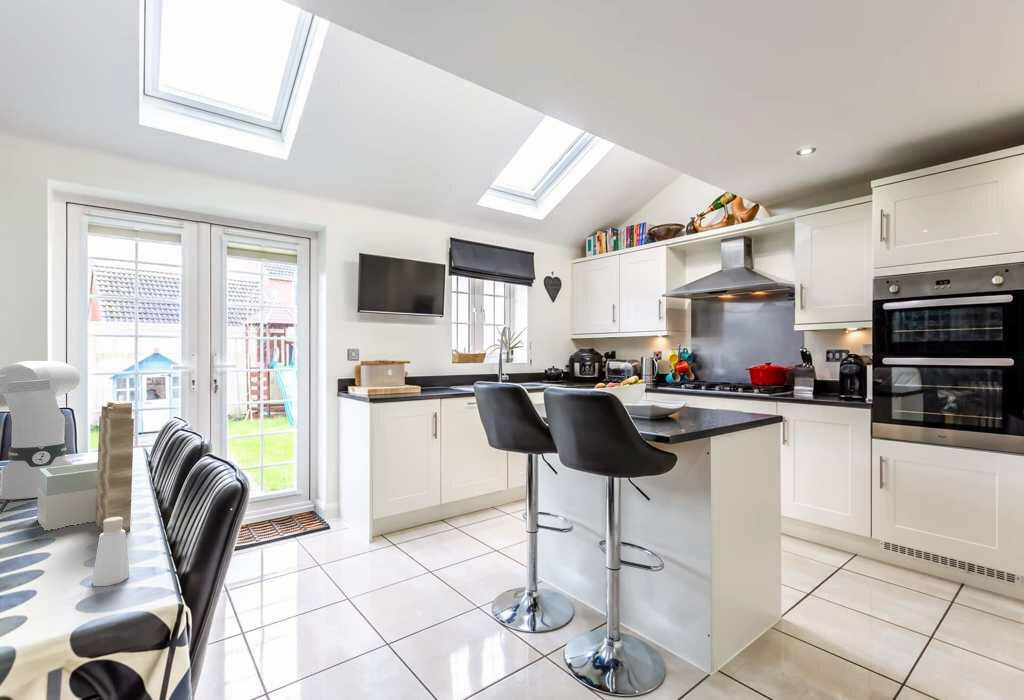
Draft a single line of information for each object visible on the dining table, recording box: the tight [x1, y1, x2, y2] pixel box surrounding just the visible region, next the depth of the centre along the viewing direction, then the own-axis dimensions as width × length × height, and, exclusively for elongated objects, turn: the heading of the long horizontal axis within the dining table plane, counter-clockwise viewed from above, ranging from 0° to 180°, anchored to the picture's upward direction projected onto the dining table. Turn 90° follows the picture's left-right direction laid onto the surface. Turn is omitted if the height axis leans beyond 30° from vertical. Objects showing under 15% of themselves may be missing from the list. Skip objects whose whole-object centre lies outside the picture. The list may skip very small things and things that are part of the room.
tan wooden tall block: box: [95, 400, 135, 532], centre depth 112 cm, size 12×4×30 cm, turn 52°
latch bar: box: [0, 375, 50, 394], centre depth 109 cm, size 4×11×4 cm, turn 142°
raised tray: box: [36, 461, 98, 532], centre depth 118 cm, size 12×16×12 cm
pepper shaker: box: [91, 517, 130, 587], centre depth 85 cm, size 5×5×11 cm
